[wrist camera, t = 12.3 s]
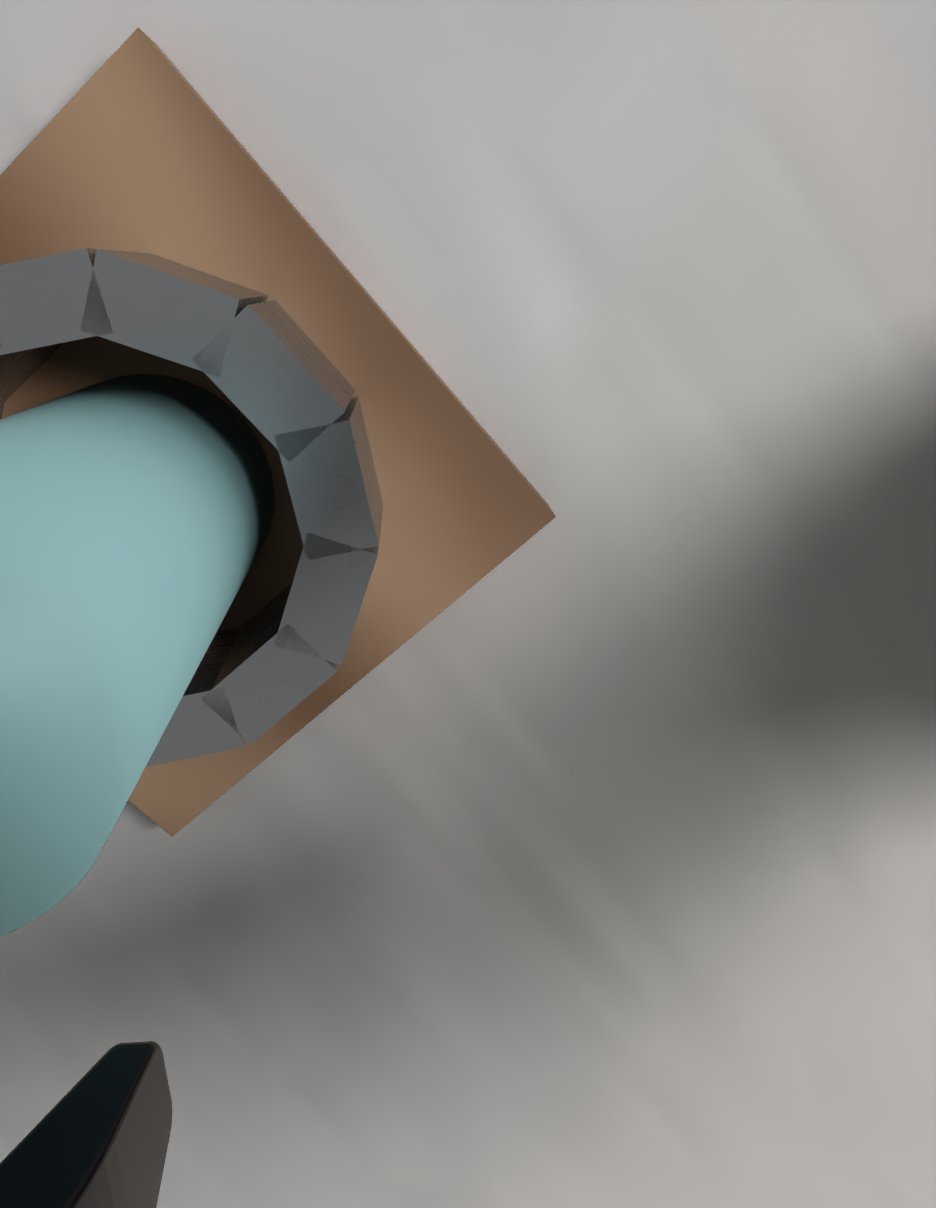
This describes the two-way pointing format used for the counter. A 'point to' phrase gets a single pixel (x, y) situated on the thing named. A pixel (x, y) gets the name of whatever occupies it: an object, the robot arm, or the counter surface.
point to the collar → (278, 410)
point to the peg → (108, 604)
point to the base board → (326, 315)
